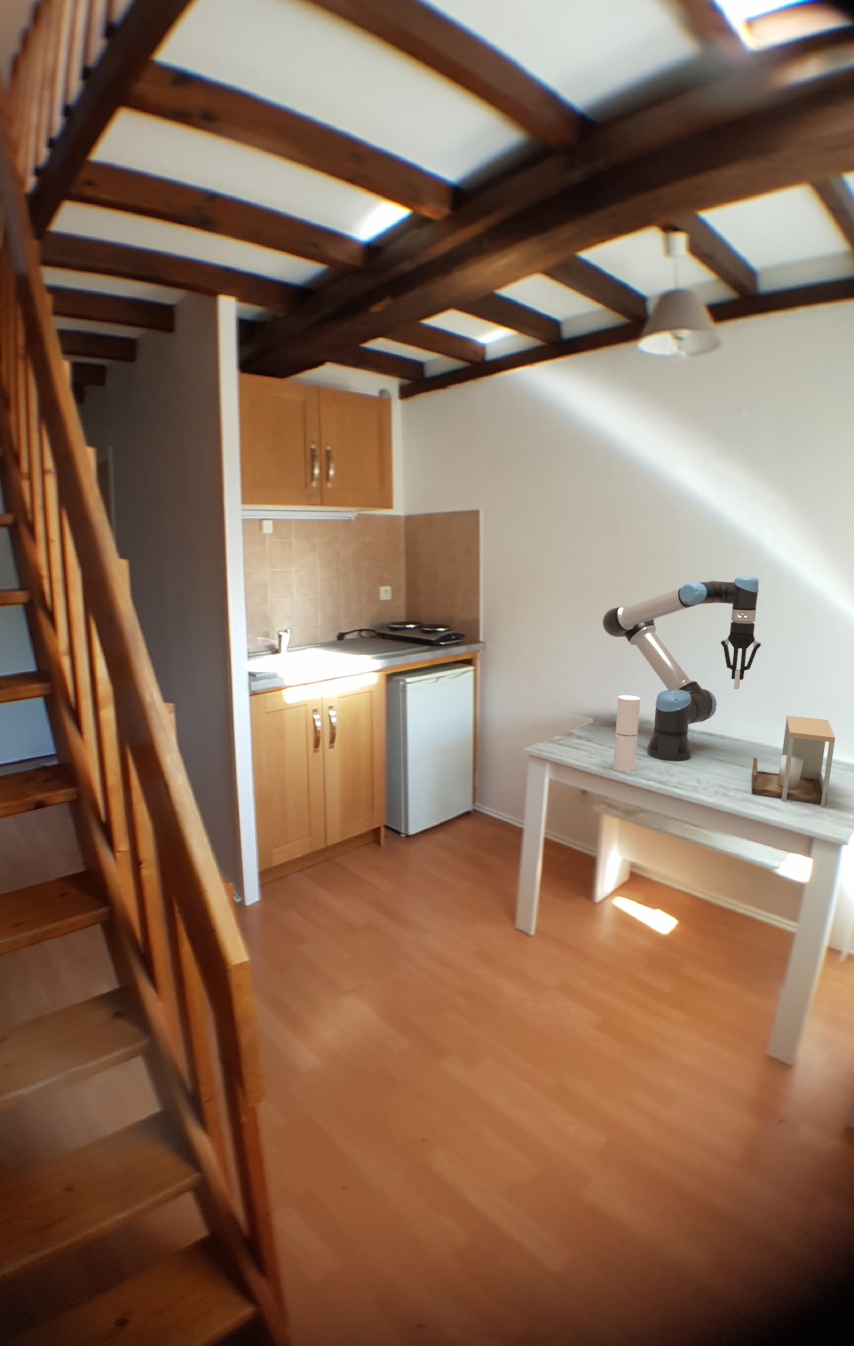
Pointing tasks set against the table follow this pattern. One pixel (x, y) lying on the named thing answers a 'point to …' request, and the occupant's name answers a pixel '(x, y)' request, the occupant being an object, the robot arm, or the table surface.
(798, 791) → the tray
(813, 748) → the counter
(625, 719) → the cylindrical container
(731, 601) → the robot arm
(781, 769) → the beige rounded cylinder
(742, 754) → the table surface
